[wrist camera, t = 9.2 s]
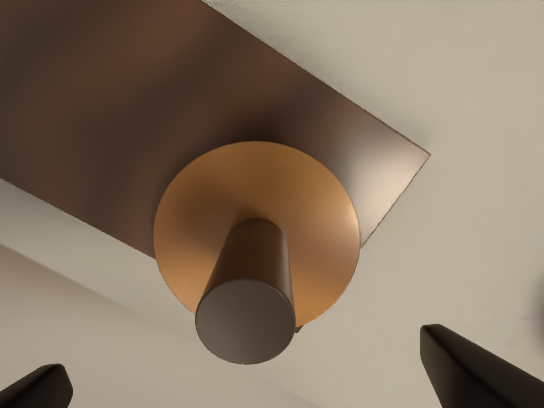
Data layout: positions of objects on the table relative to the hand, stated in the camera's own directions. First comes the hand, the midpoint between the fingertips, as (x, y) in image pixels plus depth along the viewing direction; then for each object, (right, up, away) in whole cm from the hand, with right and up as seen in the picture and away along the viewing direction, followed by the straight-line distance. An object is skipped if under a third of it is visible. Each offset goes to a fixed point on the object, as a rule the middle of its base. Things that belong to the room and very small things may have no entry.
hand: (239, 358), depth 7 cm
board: (-5, +7, +7) cm, 11 cm away
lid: (0, +2, +7) cm, 7 cm away
